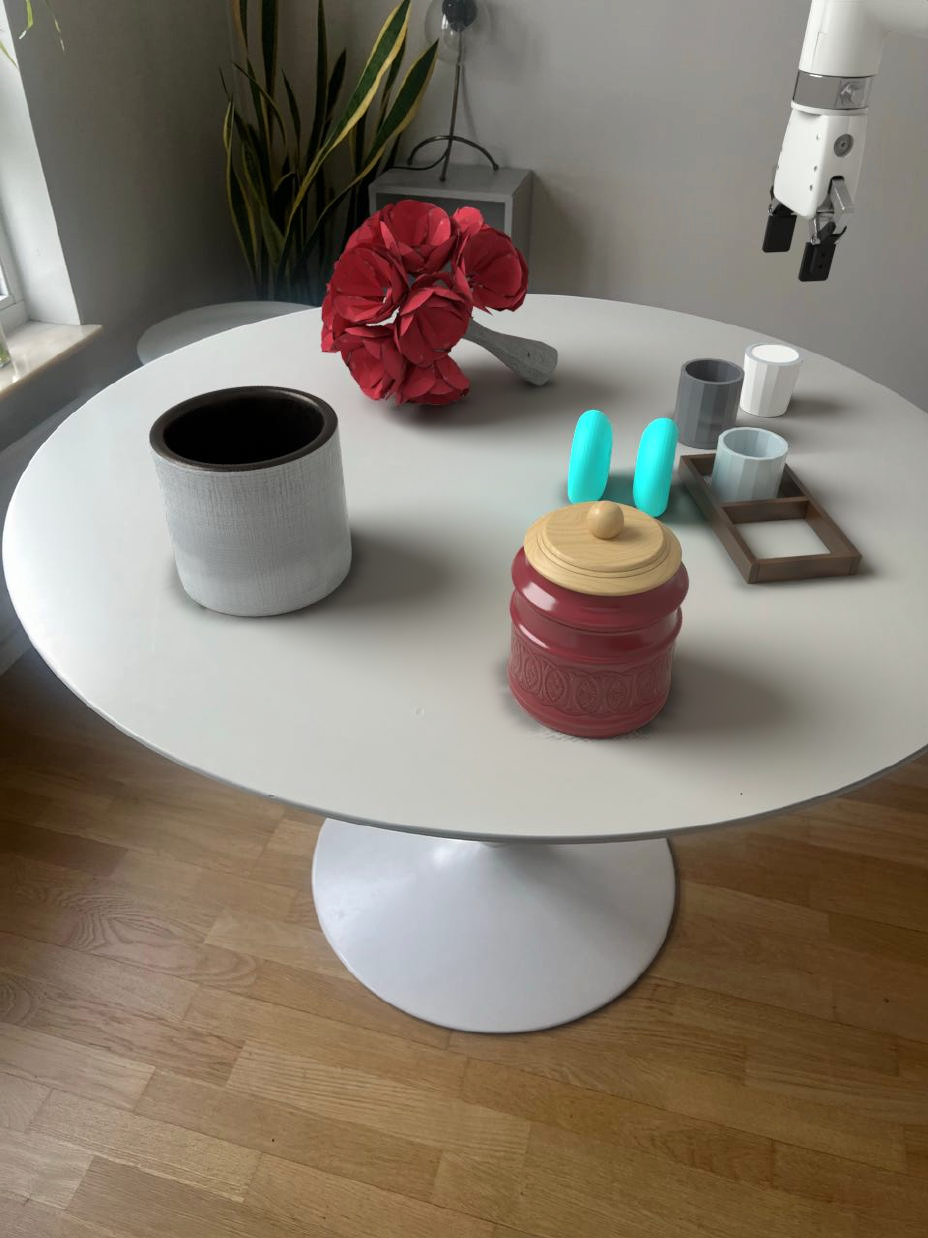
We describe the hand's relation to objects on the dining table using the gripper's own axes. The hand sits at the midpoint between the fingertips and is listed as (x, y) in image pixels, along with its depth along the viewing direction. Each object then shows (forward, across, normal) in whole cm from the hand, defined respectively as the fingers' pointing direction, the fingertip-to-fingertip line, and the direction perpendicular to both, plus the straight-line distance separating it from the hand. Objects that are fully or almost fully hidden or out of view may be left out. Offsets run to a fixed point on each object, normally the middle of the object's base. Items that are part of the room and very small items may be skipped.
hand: (793, 265), depth 104 cm
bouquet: (+18, +10, +38) cm, 43 cm away
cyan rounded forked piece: (+18, -19, +24) cm, 35 cm away
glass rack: (+18, -25, +11) cm, 33 cm away
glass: (+18, -20, +11) cm, 29 cm away
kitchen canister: (+18, -46, +34) cm, 60 cm away
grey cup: (+18, -5, +10) cm, 21 cm away
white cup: (+18, +1, 0) cm, 18 cm away
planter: (+18, -26, +60) cm, 68 cm away
